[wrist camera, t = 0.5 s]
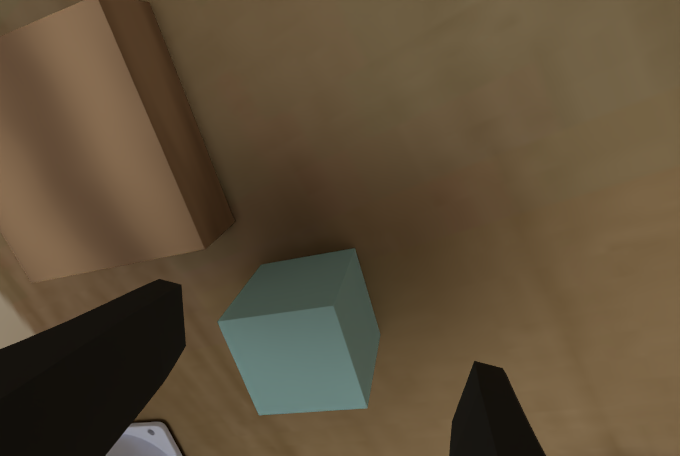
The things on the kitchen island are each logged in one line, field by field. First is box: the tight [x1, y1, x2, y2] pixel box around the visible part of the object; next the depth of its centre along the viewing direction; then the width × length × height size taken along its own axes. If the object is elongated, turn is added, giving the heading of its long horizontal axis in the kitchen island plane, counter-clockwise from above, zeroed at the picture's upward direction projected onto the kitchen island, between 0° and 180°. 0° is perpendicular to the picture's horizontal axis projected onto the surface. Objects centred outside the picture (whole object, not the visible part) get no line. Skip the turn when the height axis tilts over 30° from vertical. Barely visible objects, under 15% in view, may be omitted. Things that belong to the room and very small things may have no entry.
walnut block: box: [0, 0, 235, 283], centre depth 20 cm, size 10×10×4 cm
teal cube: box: [218, 248, 380, 415], centre depth 20 cm, size 5×5×5 cm
